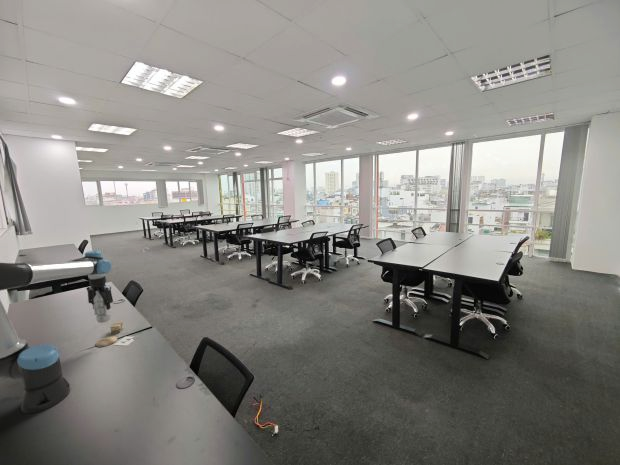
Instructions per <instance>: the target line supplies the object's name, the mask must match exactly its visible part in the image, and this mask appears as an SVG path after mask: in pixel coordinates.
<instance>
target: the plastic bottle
mask: <svg viewBox="0 0 620 465" xmlns="http://www.w3.org/2000/svg"><path fill="white" fill-rule="evenodd" d="M95 292H96V293H95V294H96V295H95V297H94V299H93V300H94V303H95V306H96V312H97V315H95V316H96V319H95V320H96V321H97V323H99V324H101V323H107V322H109V321H110V320H111V313H110V314H108V315H105V308H104V305H105V303H104V300H103V298H102V296H101V295H100V294H99V292H98V291H95ZM103 292H104V291H103Z"/></svg>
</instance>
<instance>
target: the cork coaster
mask: <svg viewBox="0 0 620 465" xmlns="http://www.w3.org/2000/svg"><path fill="white" fill-rule="evenodd" d="M117 340H118V337H117V336H108V337H104V338H101V339H100V340H98V341H97V342H96V344H95V345H96V347H98V348H103V347H108V346H110V345H112V344H113V345H114V344H115V343H117V342H118V341H117Z"/></svg>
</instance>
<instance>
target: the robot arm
mask: <svg viewBox="0 0 620 465" xmlns="http://www.w3.org/2000/svg"><path fill="white" fill-rule="evenodd" d="M111 269H112V263H111V261H109V260H107V259H104V257H103V253H102V251H101V250H89V251H86V252H84V256H82V257H79V258H75V259H70V260H68V261H64V262H52V263H39V264H38V263H37V264H29V263H28V262H21V263H20V262H19V263H15V262H0V291H5V290H9V289H16V288H22V287H27V286H29V285H30V284H33V283H39V282H47V281H48V282H49V281H54V280H55V281H56V280H62V279H69V278H70V279H71V278H75V277H83V276H87V277H88V278H87V279H88V282H89V286H87V287H86V292H87V297H88V298H87V301H88V302H87V303H88V304H91V305H92V308H93V310H94V311H93V312H94V316H97V312H96V306H95V303H94V300H93V299H94V297H95V295H96V294H95V293H96V292H95V291H98V292H99V294H100V295H101V296H102V298H103V300H104V303H105V305H104V308H105V315H108V314H110V315H111V312H112V311H111V304H112V303H113V302H114V300H113V295H112V287H111V286H107V285H106V283H107V278H106V274H108V273H110V271H111ZM103 291H104V292H103ZM61 365H62V364H61V361H60V353H59V351H58V348H57V347H56V345H53V344H50V343H49V344H48V343H47V344H45V343H44V344H41V345H40V344H39V345H34V346H31V347H30V346H29V344H28V341H27V340H26V339H24V338H23V339H22V338H19V336H18V333H17V331H16V328H14V325H13V323H12V321H11V318H10V317H9V314H8V313H7V310H6V308H5V307H4V305H3V303H2V300H1V299H0V379H11V380H19V381H21V382H22V386H23V396H22V399H21V402H20V408H21V409H20V410H21V412H22V413H25V414H34V413H38V412H41V411H44V410H48V409H49V408H51V407H53V406H55V405H58V404H59V403H60V402H61V401H63V400H64V399H65V398H67V396H68V395H69V394H70V393H71V389H72V388H71V384H70V382H69V381H68V380H67V379H66V378H65V377H64V375H63V371H62V366H61Z"/></svg>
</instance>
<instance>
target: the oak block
mask: <svg viewBox="0 0 620 465" xmlns="http://www.w3.org/2000/svg"><path fill="white" fill-rule="evenodd" d="M123 330H124V322H123V321H118V322H114V323H112V325H111V326H110V332H111V333H110V334H111V335H113V334H121V333H122V331H123Z"/></svg>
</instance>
